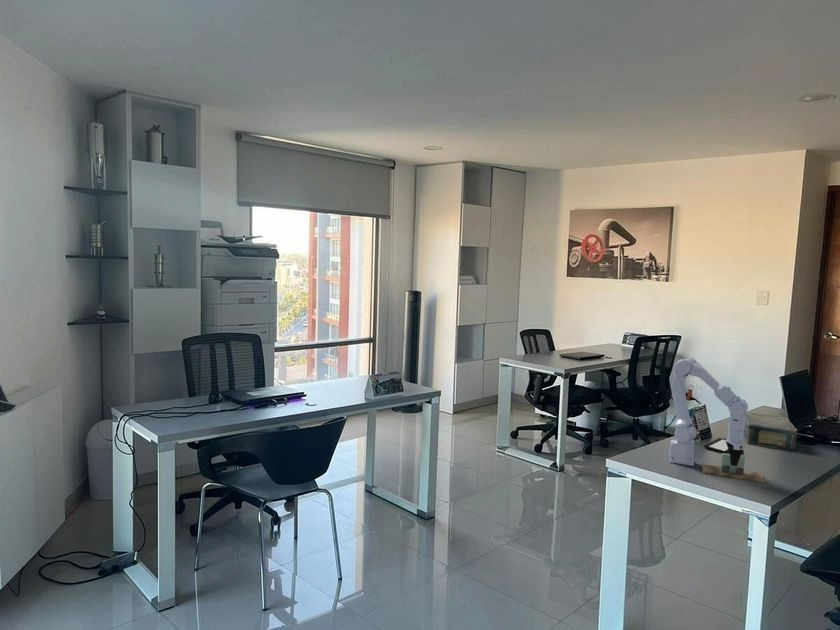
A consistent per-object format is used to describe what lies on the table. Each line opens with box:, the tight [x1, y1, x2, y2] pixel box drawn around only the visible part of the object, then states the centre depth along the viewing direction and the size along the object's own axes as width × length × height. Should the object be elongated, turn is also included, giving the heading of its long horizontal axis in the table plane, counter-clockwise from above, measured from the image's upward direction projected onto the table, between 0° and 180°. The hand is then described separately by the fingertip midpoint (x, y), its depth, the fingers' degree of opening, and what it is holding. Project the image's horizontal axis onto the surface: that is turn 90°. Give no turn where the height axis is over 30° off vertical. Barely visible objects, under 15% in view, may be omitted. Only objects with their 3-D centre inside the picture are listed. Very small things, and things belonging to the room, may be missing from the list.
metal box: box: [744, 411, 798, 451], centre depth 300 cm, size 21×32×10 cm, turn 156°
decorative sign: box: [703, 437, 745, 456], centre depth 280 cm, size 22×2×15 cm
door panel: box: [720, 453, 746, 473], centre depth 243 cm, size 8×2×7 cm, turn 67°
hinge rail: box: [700, 463, 766, 484], centre depth 243 cm, size 22×10×3 cm, turn 67°
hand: (732, 462), depth 243 cm, fingers open, 7 cm apart
